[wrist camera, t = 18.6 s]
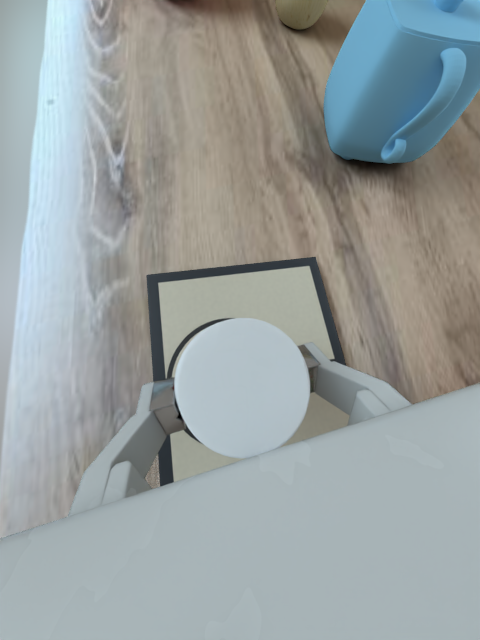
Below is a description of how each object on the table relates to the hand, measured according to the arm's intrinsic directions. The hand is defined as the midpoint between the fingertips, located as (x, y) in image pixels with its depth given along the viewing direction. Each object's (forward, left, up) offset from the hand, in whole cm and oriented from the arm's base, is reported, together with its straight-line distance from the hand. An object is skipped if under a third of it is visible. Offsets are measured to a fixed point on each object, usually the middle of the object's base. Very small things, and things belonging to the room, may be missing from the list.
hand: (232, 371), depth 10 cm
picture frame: (+2, +1, -7) cm, 8 cm away
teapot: (-3, +34, -8) cm, 35 cm away
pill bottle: (0, 0, -6) cm, 6 cm away
